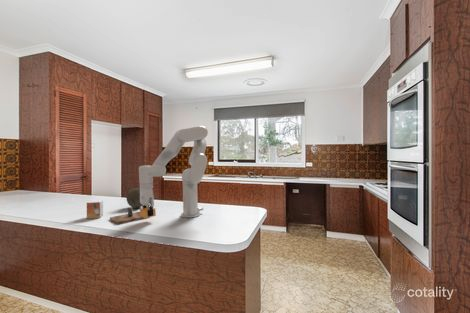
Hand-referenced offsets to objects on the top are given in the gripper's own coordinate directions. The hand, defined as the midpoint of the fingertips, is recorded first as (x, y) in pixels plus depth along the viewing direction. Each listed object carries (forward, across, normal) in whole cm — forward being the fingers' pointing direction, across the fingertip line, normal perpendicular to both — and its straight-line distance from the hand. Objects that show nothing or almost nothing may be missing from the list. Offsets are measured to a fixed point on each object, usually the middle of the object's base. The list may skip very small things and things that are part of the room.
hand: (148, 214), depth 136 cm
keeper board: (+4, -15, -5) cm, 17 cm away
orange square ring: (+1, 0, 0) cm, 1 cm away
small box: (+4, -35, -20) cm, 41 cm away
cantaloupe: (+5, -41, +9) cm, 43 cm away
